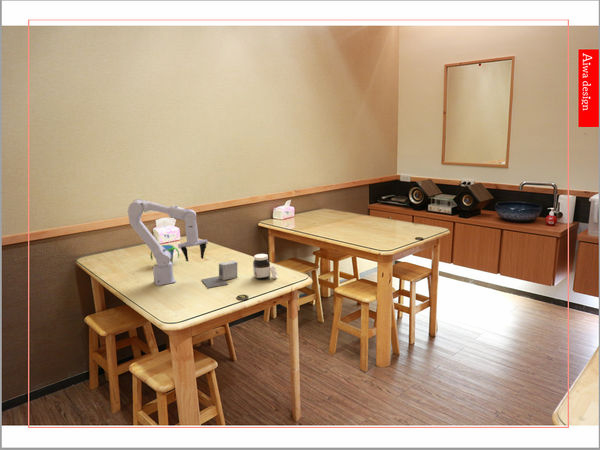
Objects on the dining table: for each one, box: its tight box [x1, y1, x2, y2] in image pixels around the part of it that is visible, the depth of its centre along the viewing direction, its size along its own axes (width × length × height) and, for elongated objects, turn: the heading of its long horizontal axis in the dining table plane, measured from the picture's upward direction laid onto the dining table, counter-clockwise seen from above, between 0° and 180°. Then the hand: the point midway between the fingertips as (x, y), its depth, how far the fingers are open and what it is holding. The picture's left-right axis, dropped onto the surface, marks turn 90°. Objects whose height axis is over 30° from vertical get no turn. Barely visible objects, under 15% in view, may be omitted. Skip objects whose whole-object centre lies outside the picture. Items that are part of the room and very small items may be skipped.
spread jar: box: [252, 253, 279, 281], centre depth 225 cm, size 12×11×12 cm
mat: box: [200, 275, 229, 289], centre depth 222 cm, size 10×13×1 cm
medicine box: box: [218, 260, 238, 281], centre depth 226 cm, size 8×4×9 cm
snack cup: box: [150, 244, 180, 264], centre depth 252 cm, size 16×10×10 cm
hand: (194, 259), depth 225 cm, fingers open, 7 cm apart
